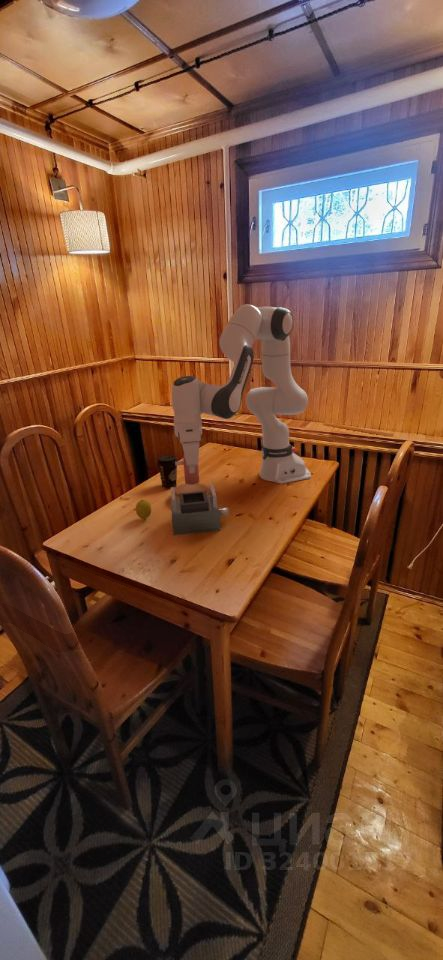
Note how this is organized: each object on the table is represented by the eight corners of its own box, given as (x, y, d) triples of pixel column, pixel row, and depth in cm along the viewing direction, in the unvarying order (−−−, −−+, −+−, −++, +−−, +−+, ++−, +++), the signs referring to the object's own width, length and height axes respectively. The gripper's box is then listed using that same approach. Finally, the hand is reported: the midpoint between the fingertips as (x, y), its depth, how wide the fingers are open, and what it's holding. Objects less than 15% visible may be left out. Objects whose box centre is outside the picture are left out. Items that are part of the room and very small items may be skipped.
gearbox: (226, 513, 152) (224, 481, 147) (231, 529, 141) (230, 495, 136) (172, 518, 150) (169, 486, 145) (173, 535, 139) (170, 501, 134)
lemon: (155, 516, 152) (152, 497, 149) (147, 523, 147) (145, 503, 144) (141, 514, 154) (139, 495, 150) (134, 521, 149) (131, 502, 146)
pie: (163, 500, 164) (162, 489, 162) (191, 487, 174) (191, 477, 172) (190, 512, 154) (189, 500, 152) (218, 497, 165) (217, 486, 163)
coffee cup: (181, 482, 180) (179, 454, 175) (177, 490, 173) (175, 461, 168) (162, 482, 181) (159, 454, 176) (157, 489, 174) (154, 461, 169)
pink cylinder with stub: (198, 478, 141) (196, 451, 137) (199, 483, 137) (198, 456, 133) (176, 480, 140) (174, 453, 136) (177, 485, 136) (174, 458, 132)
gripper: (176, 421, 140) (180, 459, 146) (180, 439, 122) (183, 481, 127) (195, 420, 141) (197, 457, 147) (201, 437, 122) (203, 479, 128)
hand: (191, 468), depth 137 cm, fingers closed on pink cylinder with stub, 5 cm apart
